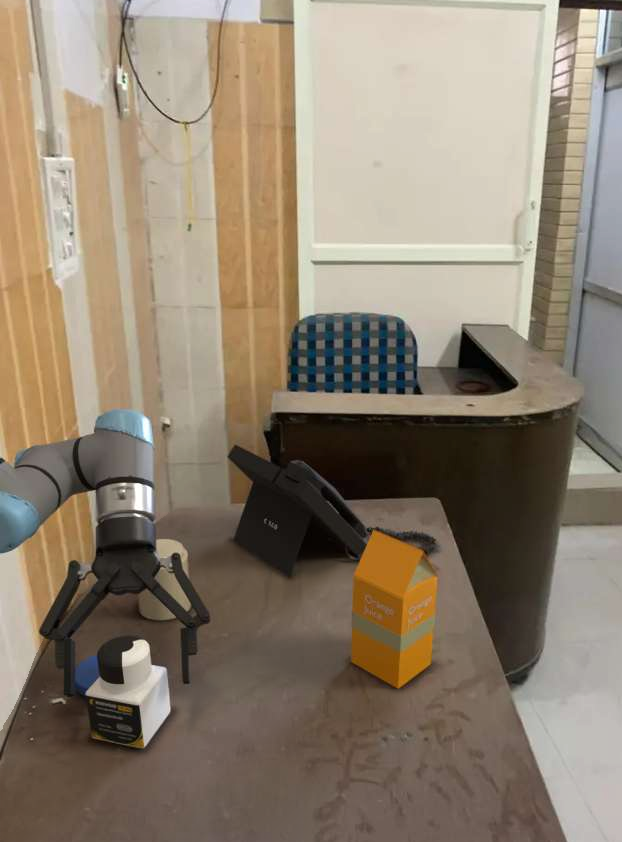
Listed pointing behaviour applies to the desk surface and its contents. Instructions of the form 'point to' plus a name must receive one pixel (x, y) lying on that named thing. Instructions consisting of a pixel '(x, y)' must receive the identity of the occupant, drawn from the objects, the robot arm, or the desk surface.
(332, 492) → the office phone
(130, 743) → the medicine bottle
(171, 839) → the desk surface
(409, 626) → the orange juice
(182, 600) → the jar
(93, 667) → the jar lid
